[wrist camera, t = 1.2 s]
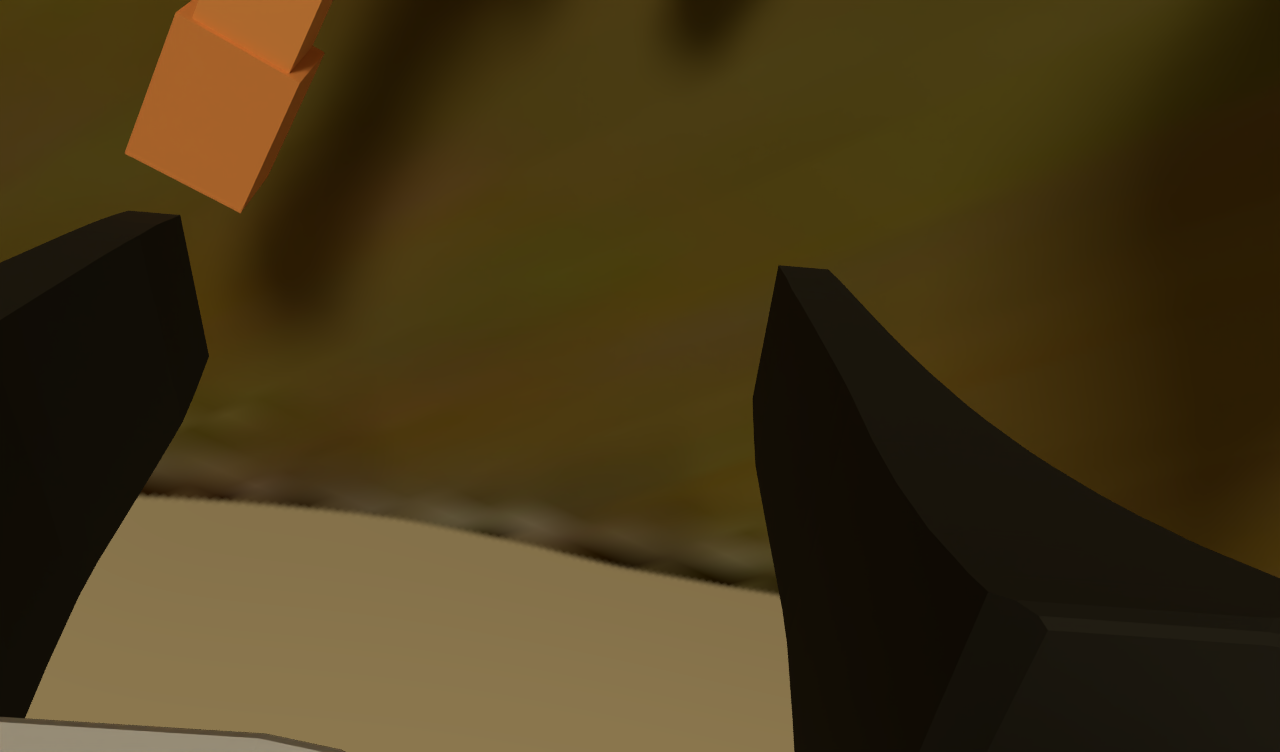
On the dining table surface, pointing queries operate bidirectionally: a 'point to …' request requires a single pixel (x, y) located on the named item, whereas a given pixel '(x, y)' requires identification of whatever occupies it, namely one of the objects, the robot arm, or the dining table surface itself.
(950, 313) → the dining table surface
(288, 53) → the lever
